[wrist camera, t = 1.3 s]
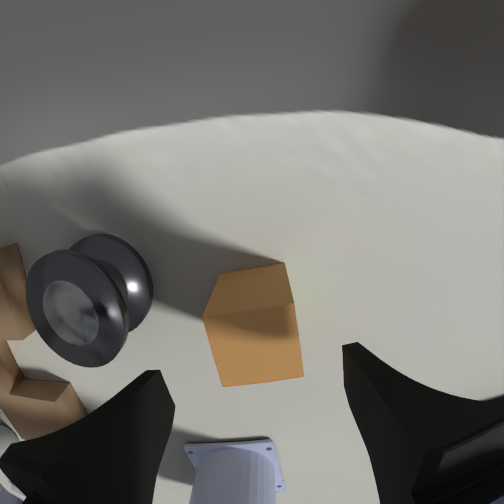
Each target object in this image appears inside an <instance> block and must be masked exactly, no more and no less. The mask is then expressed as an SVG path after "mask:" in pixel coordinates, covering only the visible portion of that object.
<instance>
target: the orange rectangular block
mask: <svg viewBox="0 0 504 504" xmlns="http://www.w3.org/2000/svg"><path fill="white" fill-rule="evenodd" d="M202 319H203V322H204V326H205V329H206V333H207V337H208V340H209V344H210V347H211V350H212V354H213V357H214V361H215V364H216V367H217V371H218V374H219V377H220V380H221V384H222V387H229V386H239V385H248V384H257V383H265V382H272V381H279V380H286V379H292V378H299V377H304V372H303V364H302V357H301V349H300V342H299V334H298V327H297V320H296V313H295V306H294V301H293V296H292V292H291V288H290V284H289V279H288V275H287V271H286V267H285V263H280V264H274V265H268V266H262V267H256V268H250V269H244V270H238V271H232V272H226V273H220V274H219V277H218V279H217V282H216V284H215V286H214V289H213V291H212V294H211V296H210V299H209V301H208V303H207V306H206V308H205V311H204V313H203V316H202Z"/></svg>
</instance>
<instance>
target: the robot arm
mask: <svg viewBox="0 0 504 504" xmlns="http://www.w3.org/2000/svg"><path fill="white" fill-rule="evenodd" d="M342 352H343V372H344V388H345V391H346V395H347V399H348V403H349V406H350V409H351V411H352V414H353V416H354V419H355V421H356V424H357V426H358V428H359V431H360V433H361V436H362V438H363V441H364V443H365V446H366V448H367V451H368V454H369V457H370V461H371V465H372V468H373V472H374V476H375V481H376V485H377V490H378V494H379V499H380V504H504V404H503V403H498V402H487V401H477V400H472V399H467V398H462V397H458V396H454V395H450V394H447V393H444V392H441V391H438V390H435V389H432V388H430V387H427V386H425V385H423V384H421V383H419V382H416V381H414V380H412V379H410V378H409V377H407V376H405V375H403V374H402V373H400V372H398V371H397V370H395V369H393V368H392V367H391V366H389V365H388V364H386V363H385V362H383V361H382V360H381V359H379V358H378V357H376V356H375V355H374V354H373V353H371V352H370V351H369V350H367V349H366V348H365V347H364V346H362V345H361V344H360V343H358V342H355V343H351V344H346V345H342ZM174 413H175V404H174V402H173V400H172V398H171V395H170V393H169V391H168V388H167V386H166V384H165V381H164V379H163V376H162V374H161V371H160V370H147V371H145V372H144V373H142V374H141V375H140V376H138V377H137V378H136V379H134V380H133V381H132V382H131V383H130V384H128V385H127V386H126V387H125V388H123V389H122V390H121V391H120V392H119V393H117V394H116V395H115V396H114V397H112V398H111V399H110V400H108V401H107V402H106V403H104V404H103V405H101V406H100V407H99V408H97V409H96V410H95V411H93V412H91V413H90V414H88V415H87V416H85V417H83V418H82V419H80V420H78V421H76V422H74V423H72V424H70V425H68V426H66V427H64V428H62V429H60V430H57V431H55V432H52V433H50V434H47V435H44V436H41V437H37V438H34V439H30V440H25V441H21V442H16V443H11V444H10V445H9V447H8V448H7V449H6V451H5V452H4V453H3V455H2V456H1V457H0V469H1V470H2V472H3V473H4V474H5V475H6V476H7V478H8V479H9V480H10V481H11V482H12V483H13V484H14V485H15V486H16V487H17V488H18V489H19V490H20V491H21V492H22V493H23V494H24V495H25V496H26V498H25V500H24V501H22V500H21V499H20V498H18V497H16V496H15V495H13V494H11V493H9V492H7V491H5V490H3V489H1V490H0V504H152V501H153V494H154V488H155V482H156V476H157V472H158V469H159V465H160V462H161V459H162V456H163V453H164V450H165V447H166V444H167V441H168V438H169V435H170V432H171V429H172V425H173V419H174ZM184 450H185V452H186V454H187V456H188V458H189V459H190V461H191V463H192V465H193V467H194V468H195V470H196V473H195V478H194V483H193V488H192V493H191V497H190V502H189V504H276V493H281V492H284V491H285V485H284V481H283V477H282V473H281V469H280V465H279V461H278V457H277V453H276V449H275V445H274V442H273V441H272V440H270V439H265V440H255V441H243V442H228V443H195V444H185V445H184Z"/></svg>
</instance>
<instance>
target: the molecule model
mask: <svg viewBox="0 0 504 504" xmlns="http://www.w3.org/2000/svg"><path fill="white" fill-rule="evenodd" d="M16 442H19V440H18V438H17V436H16V435H15V434H14V432H13V431H12V430H10V429H9V428H7V427H5V426H2V425H0V457H1V456H2V455H3V453H4V452H5V451H6V449H7V448H8V447H9V445H10V444H11V443H16Z"/></svg>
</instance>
